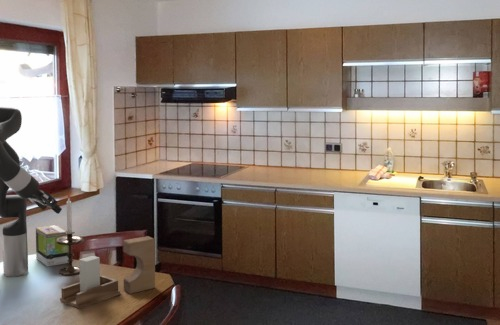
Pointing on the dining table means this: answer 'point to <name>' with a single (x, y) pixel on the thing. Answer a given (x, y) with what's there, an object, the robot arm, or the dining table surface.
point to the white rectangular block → (89, 272)
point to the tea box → (50, 245)
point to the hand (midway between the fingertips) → (52, 209)
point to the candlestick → (69, 243)
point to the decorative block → (140, 264)
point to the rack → (90, 293)
